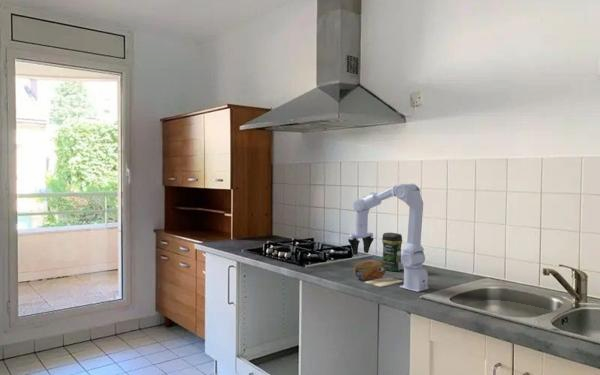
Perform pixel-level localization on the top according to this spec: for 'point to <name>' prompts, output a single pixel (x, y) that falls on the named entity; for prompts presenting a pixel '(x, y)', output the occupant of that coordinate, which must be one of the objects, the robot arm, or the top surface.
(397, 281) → the birch board
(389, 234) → the coffee jar
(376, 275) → the orange-brown flat oval
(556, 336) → the top surface
